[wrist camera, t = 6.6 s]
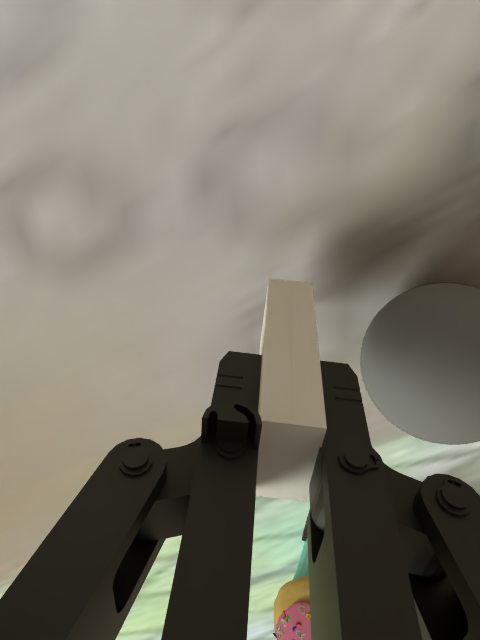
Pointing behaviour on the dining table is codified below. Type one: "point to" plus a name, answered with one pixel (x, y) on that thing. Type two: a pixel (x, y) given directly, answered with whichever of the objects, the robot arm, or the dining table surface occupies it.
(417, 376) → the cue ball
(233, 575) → the robot arm
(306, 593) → the cupcake
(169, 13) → the dining table surface
